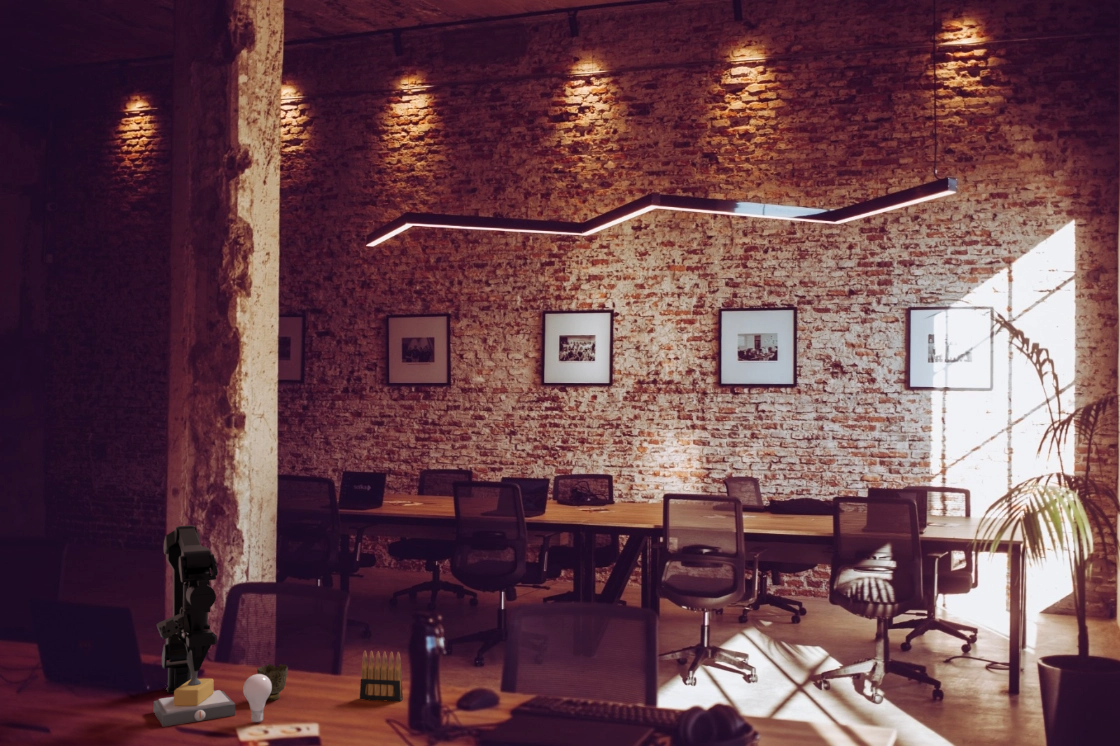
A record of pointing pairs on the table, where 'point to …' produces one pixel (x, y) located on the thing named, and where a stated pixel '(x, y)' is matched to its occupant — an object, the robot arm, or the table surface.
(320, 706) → the table surface
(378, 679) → the ammunition clip
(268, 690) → the lightbulb
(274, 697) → the cup
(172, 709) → the dial scale
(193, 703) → the rubber stamp
